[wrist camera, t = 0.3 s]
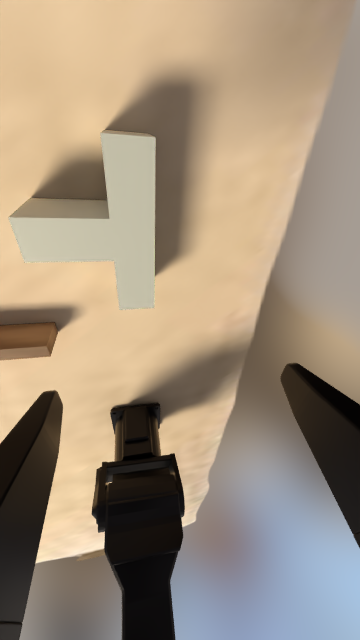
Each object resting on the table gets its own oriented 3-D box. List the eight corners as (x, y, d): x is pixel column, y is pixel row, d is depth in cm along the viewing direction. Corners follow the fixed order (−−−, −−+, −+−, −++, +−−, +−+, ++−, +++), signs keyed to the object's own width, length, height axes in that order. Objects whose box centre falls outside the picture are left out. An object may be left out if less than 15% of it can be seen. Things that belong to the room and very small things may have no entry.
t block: (149, 280, 21) (154, 307, 18) (55, 283, 19) (43, 314, 16) (148, 133, 14) (155, 137, 11) (7, 121, 13) (-27, 122, 10)
